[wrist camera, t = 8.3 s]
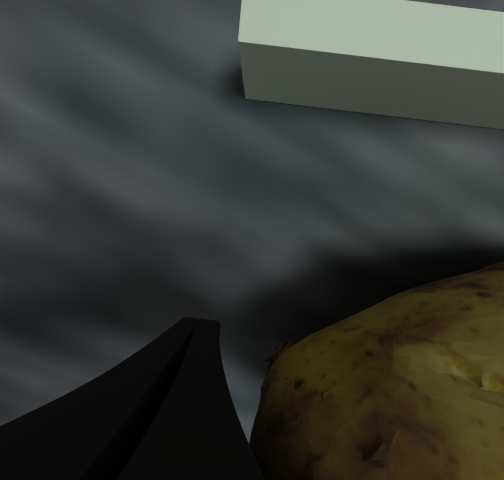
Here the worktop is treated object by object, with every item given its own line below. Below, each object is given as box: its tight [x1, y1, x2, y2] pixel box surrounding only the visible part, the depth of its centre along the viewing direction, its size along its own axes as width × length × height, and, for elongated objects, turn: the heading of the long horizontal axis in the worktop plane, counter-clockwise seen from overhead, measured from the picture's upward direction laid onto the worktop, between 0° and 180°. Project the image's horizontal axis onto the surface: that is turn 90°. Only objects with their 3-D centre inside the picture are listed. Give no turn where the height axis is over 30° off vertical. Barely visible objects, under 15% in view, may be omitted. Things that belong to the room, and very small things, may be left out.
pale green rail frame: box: [238, 0, 504, 130], centre depth 9 cm, size 20×15×4 cm
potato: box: [249, 262, 504, 480], centre depth 7 cm, size 8×13×8 cm, turn 88°
